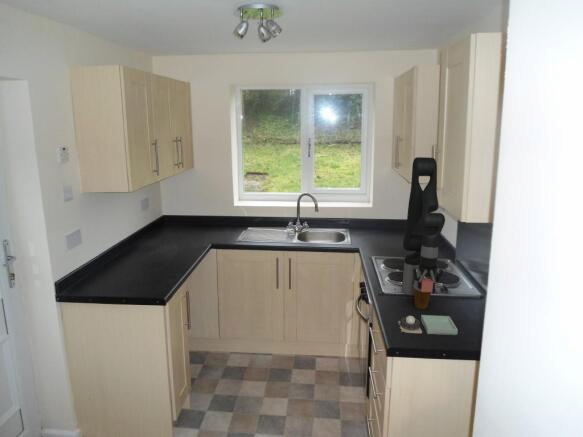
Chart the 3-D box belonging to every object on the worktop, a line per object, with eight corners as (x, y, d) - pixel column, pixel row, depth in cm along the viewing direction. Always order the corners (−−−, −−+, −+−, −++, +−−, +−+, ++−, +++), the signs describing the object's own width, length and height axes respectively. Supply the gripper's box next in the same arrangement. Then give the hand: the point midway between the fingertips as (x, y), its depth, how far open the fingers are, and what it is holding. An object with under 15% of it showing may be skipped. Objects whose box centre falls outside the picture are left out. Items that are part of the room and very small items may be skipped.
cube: (419, 287, 214) (419, 277, 212) (429, 287, 213) (430, 278, 212) (421, 291, 209) (422, 281, 208) (432, 292, 209) (433, 282, 207)
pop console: (398, 323, 210) (398, 316, 209) (417, 323, 210) (418, 317, 209) (401, 332, 202) (402, 325, 201) (421, 333, 201) (422, 326, 200)
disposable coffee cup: (434, 306, 229) (436, 284, 226) (425, 312, 222) (427, 289, 219) (416, 300, 235) (418, 279, 232) (408, 306, 228) (410, 284, 225)
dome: (404, 322, 207) (405, 313, 206) (413, 322, 207) (414, 314, 206) (406, 326, 203) (407, 317, 202) (415, 326, 203) (416, 318, 202)
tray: (420, 319, 214) (421, 315, 213) (448, 321, 213) (449, 316, 212) (427, 333, 201) (427, 328, 200) (457, 335, 200) (457, 329, 200)
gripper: (442, 252, 210) (439, 286, 214) (411, 251, 211) (408, 285, 215) (447, 258, 203) (443, 293, 207) (415, 257, 203) (411, 291, 208)
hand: (425, 288), depth 211 cm, fingers closed on cube, 5 cm apart
